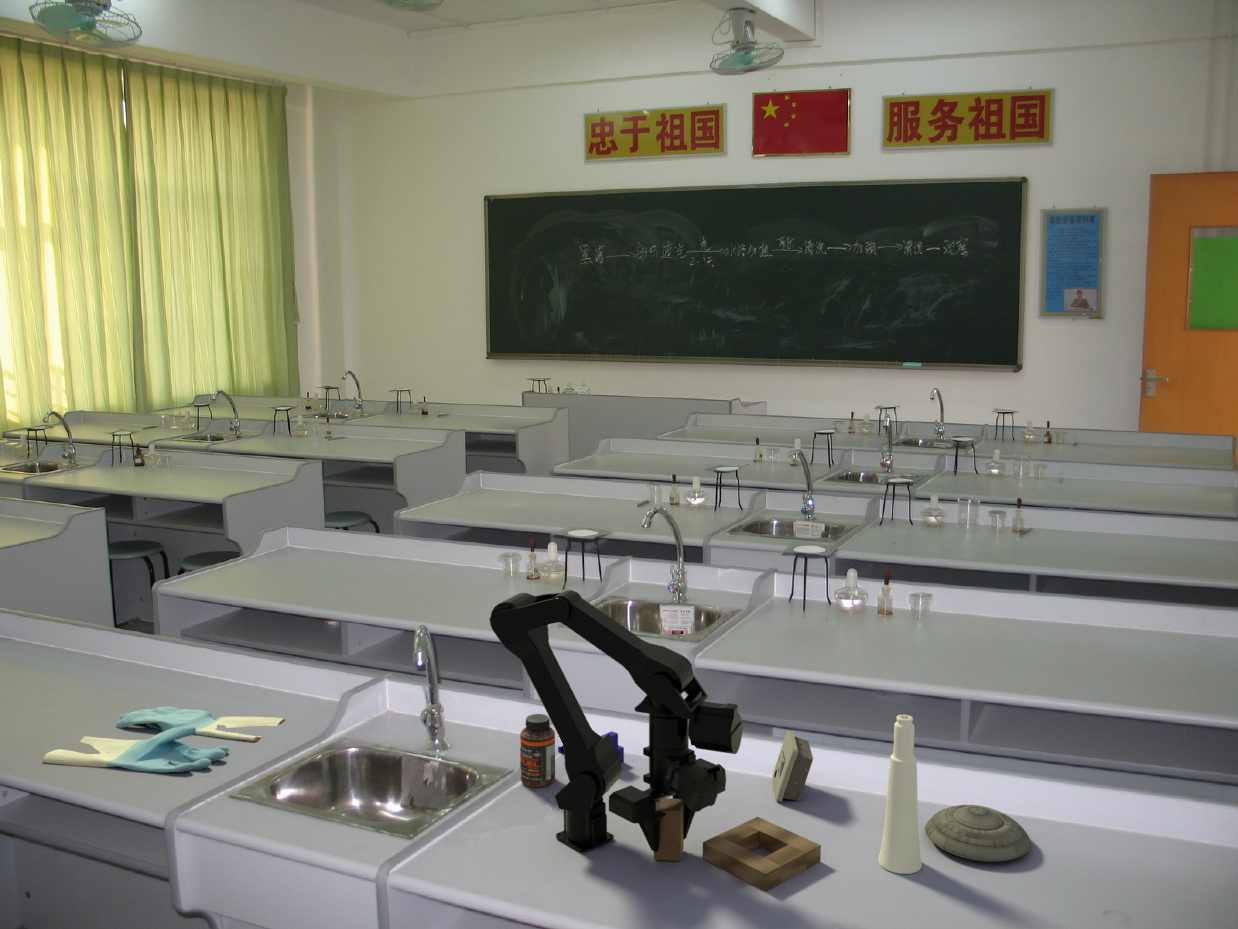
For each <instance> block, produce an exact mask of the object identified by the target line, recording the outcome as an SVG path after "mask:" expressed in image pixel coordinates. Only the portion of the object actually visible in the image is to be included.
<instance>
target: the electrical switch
mask: <svg viewBox="0 0 1238 929" xmlns="http://www.w3.org/2000/svg"><path fill="white" fill-rule="evenodd" d="M813 761H814V756H813V753H812V750H811V746H810V743H809V740H807V739H803V738H800V737H797V736H795V733H794V730H790V729H788V730H787V732H786V733H785V737H784V740H783V742H782V745H781V748H780V752H779V754H778V757H777V760H776V762H775V766H774V769H773V773H772V778H771V779H772V780H771V781H772V784H773V791H774V797H775V801H776V802H777V801H778V802H779V803H782V801H783V799H787V800H792V801H795V802H800V800H801V797H802V793H803V791H804V789H805V784H806V782H807V780H808V775H809V773H810V770H811V767H812V764H813Z"/></svg>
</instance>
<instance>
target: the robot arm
mask: <svg viewBox="0 0 1238 929" xmlns="http://www.w3.org/2000/svg"><path fill="white" fill-rule="evenodd" d="M490 613H491V614H490V617H489V624H490V627H491V630H492V632H493V633H494V635H495V636H496V638H497V639H498V640H499V642H500V643H501V645H502V646H503V647H504V648H505V649H506V650H507V651H509V653H511V654H513V655H514V656H515V657H516V658H518V659H519V660H520V662H521V664H522V665H523V667H524V669H525V672H526V674H527V676H528V678H529V679H530V680H529V681H531V684H532V686H533V688H534V689H535V691H536V694H537V695H538V697H539V700H540V702H541V703H542V705H543V707H544V709H545V711H546V714H547V716H548V717H549V720H550V721H551V723H552V725H553V727H554V729H555V731H556V734H557V736H558V735H559V737H560V739H561V741H562V743H563V746H564V754H563V755H564V769H565V772H566V776H567V778H568V780H569V782H568V783H567V784H566V785H564V786H563V788H561V789H560V790H559V791H558V792H557V793H556V794H555V796H554V798H555V801H556V804H557V808H558V809H559V810H562V811H563V830H562V831H559V832H557V833H556V834H555V838H556V839H558V840H559V841H561V842H563V843H564V844H567V845H568V846H569V847H572V848H573V849H575V850H576V851H578V852H580V853H584V852H588V851H589V850H592V849H593V848H597V847H598V846H601V845H603V844H605V843H608V842H610V841H613V840H614V838H615V836H614V834H612V833H611V832H609V831H608V816H607V807H606V806H607V803H606V802H605V801H604V796H605V794H606V793H609V791H610V789H611V788H612V787H613V786H614V785H615V784H616V783H617V782H618V781H619V779H620V778H621V774H622V770H623V763H622V764H621V761H620V759H621V758H622V755H621V754H620V753H619V752H618V750H617V749H616V747H615V745H614V742H613V739H612V737H611V735H610V734H607V733H606V734H607V735H606V736H604V737H603V738H602V737H601V736H602V735H600V734H599V733H597V732H596V731H595V730H593V729H592V726H591V724H590V723H589V721H588V719H587V717H586V715H585V713H584V711H583V709H582V707H581V705H580V704H579V701H578V699H577V698H576V696H575V694H574V691H573V689H572V687H571V685H570V683H569V682H568V679H567V677H566V676H565V673H564V671H563V670H562V668H561V665H560V664H559V662H558V660H557V658H556V656H555V653H554V652H553V650H552V648H551V645H550V637H549V636H550V635H549V625H552V624H557V623H561V624H562V625H564V626H565V627H567V628H568V629H569V630H571V631H572V632H574V633H576V634H577V635H578V636H579V637H581V638H582V639H584V640H586V642H588V643H589V644H591V645H592V646H594V647H595V648H597V649H598V650H599V651H601V652H602V653H603V654H605V655H607V656H608V658H611V659H612V660H614V661H615V662H616V663H617V664H619V665H620V666H622V667H623V668H624V669H625V670H626V671H627V672H628V673H629V675H630V677H631V679H632V680H633V682H634V684H636V686H637V687H638V688H639V689H640V690H641V691H642V692H643V693H644V694H645V696H644V698H643V699H642V700H641V701H640V702H639V703H638V704H637V705H635V707H634V711H635V712H636V713H643V714H648V746H645V747H643V749H642V750H643V751H642V755H643V756H645V757H646V758H647V757H648V769H649V770H648V772H647V773H645V774H644V773H643V775H642V781H643V783H646V784H648V785H649V787H648V788H647V789H646V790H641V789H640V788H638V787H635V786H633V785H628V786H626V787H623V788H621V789H617V790H616V791H613V792H611V793H610V794H609V795H608V811H609V812H610V813H612V814H614V815H616V816H618V817H620V818H622V819H624V820H626V821H628V822H630V823H632V824H638V825H639V827H640V829H641V831H642V834H643V836H644V838H645V840H646V842H647V844H648V846H649V848H650V850H651V851H652V852H653V853H654V852H658V848H659V835H660V820H661V819H662V818H663V817H664V816H666V813H663V812H661V811H660V800H663V799H665V798H671V796H672V799H681V800H682V801H683V802H684V840H686V839H687V837H688V834H689V831H690V829H691V826H692V825H691V824H692V823H693V820H694V816H695V814H696V812H700V811H702V810H704V809H705V808H708V807H712V806H714V805H715V804H716V801H717V798H718V795H719V794H721V793H723V792H725V791H726V786H727V785H726V784H727V783H726V782H727V774H726V768H724V767H723V766H722V765H721V764H720V763H717V764H715V763H713V762H711V761H708V760H706V759H704V758H701V757H699V758H697V755H696V753H695V750H694V749H691V748H689V740H690V745H691V746H694V747H695V748H696V749H699V750H705V751H710V752H711V751H712V752H718V753H724V754H732V755H737V754H738V752H739V750H740V747H741V744H742V743H741V742H742V737H743V727H744V726H743V724H744V722H742V717H741V715H740V713H739V712H738V711H739V706H738V705H737V704H735V703H718V702H712V701H706V700H707V699H708V698H709V697H708V694H707V693H706V691H705V690H704V688H703V687H702V685H701V683H700V682H699V680H698V679H697V677H696V676H695V675H694V670H693V667H692V666H693V665H692V662H690V660H689V659H688V658H687V657H686V656H684V655H683V654H681V653H679V652H677V651H674V650H673V649H670V648H668V647H666V646H664V645H660V644H655V643H652V642H648V641H646V640H644V639H642V638H641V637H639V636H637V635H636V634H634V633H633V632H632V631H631V630H629V629H628V628H626V627H625V626H624V625H621V624H620V623H618V622H617V621H616V620H614V619H613V618H612V617H610V616H609V615H607V614H605V612H602V611H601V610H600V609H598V607H596V606H594V605H593V604H591V603H590V602H588V601H587V600H585V599H584V598H582V595H581V594H580V593H579V592H577V591H574V590H571V589H567V590H564V591H561V592H552V593H544V594H540V595H539V594H538V595H532V594H530V593H529V592H520V593H517V594H514V595H513V596H511V597H509V598H507V599H505V600H503V601H501V602H499V603H498V604H496V605H495V606H494V607H493V609H492V611H491V612H490ZM683 693H684V694H685V693H686V694H687V696H686V697H685V698H684V697H683V696H682V694H683Z"/></svg>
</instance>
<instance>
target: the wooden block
mask: <svg viewBox="0 0 1238 929" xmlns="http://www.w3.org/2000/svg"><path fill="white" fill-rule="evenodd" d="M660 811H661V812H663V813H666V816H664V817H663V818H662V819H661V820H660V835H659V848H658V852H654V851H653V859H654V860H655V861H664V862H665V861H666V862H677V863H678V862H681V859H682V856H683V852H684V849H685V848H684V840H685V839H684V802H683V801H682V800H681V799H673V798H671V797H667V798H665V799H663V800H660Z"/></svg>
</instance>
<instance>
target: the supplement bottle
mask: <svg viewBox="0 0 1238 929" xmlns="http://www.w3.org/2000/svg"><path fill="white" fill-rule="evenodd" d="M524 725H525V727H524V728H523V729H522V730H521V731H520V734H519V735H520V736H519V745H520V746H519V747H520V748H519V753H520V755H519V759H520V760H519V764H520V769H519V772H520V775H519V776H520V781H521V783H522V784H523V785H525V786H527V787H531V788H543V787H547V786H550V785H551V784H553V783H554V782H555V780H556V733H555V730H554V729H553V728H552V727H551V726H550V717H549V715H548V714H545V713H544V714H543V713H534V714H533V713H532V714H529V715H528V716H526V717H525V724H524Z"/></svg>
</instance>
